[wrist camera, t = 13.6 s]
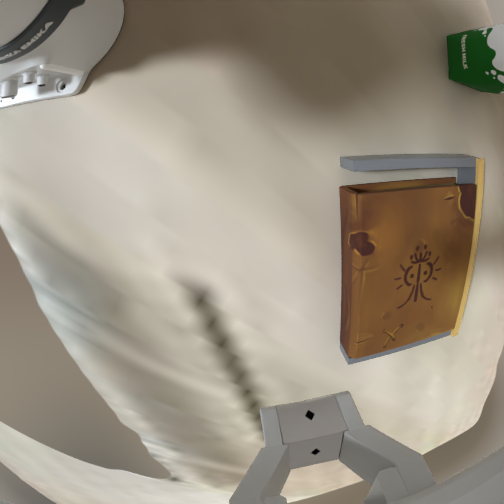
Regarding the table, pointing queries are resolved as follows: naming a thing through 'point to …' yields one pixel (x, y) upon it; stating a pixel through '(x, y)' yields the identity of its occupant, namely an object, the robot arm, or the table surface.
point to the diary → (403, 261)
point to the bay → (467, 173)
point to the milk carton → (478, 58)
